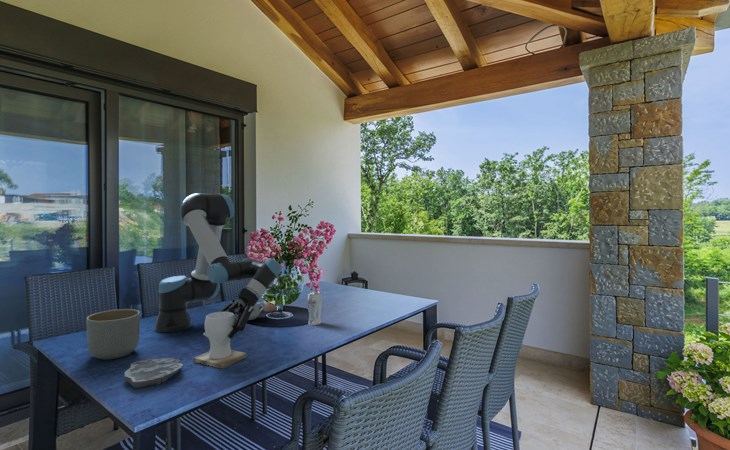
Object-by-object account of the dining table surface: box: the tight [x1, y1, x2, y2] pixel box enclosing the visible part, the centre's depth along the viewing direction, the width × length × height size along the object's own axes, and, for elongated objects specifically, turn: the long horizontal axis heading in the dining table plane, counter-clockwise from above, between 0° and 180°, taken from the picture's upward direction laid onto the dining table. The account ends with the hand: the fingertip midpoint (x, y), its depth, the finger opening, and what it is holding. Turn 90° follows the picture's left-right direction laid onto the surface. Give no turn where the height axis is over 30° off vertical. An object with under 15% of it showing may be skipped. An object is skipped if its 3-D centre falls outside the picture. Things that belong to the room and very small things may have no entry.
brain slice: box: [123, 357, 184, 389], centre depth 128 cm, size 20×17×3 cm
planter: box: [85, 308, 141, 361], centre depth 145 cm, size 17×17×15 cm
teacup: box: [248, 301, 265, 321], centre depth 195 cm, size 14×11×8 cm
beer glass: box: [307, 291, 323, 326], centre depth 188 cm, size 7×7×15 cm
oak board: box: [192, 349, 248, 370], centre depth 142 cm, size 14×12×2 cm
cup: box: [204, 311, 236, 359], centre depth 142 cm, size 11×11×15 cm
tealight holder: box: [263, 299, 277, 313], centre depth 213 cm, size 8×8×6 cm
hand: (213, 340), depth 140 cm, fingers open, 12 cm apart
